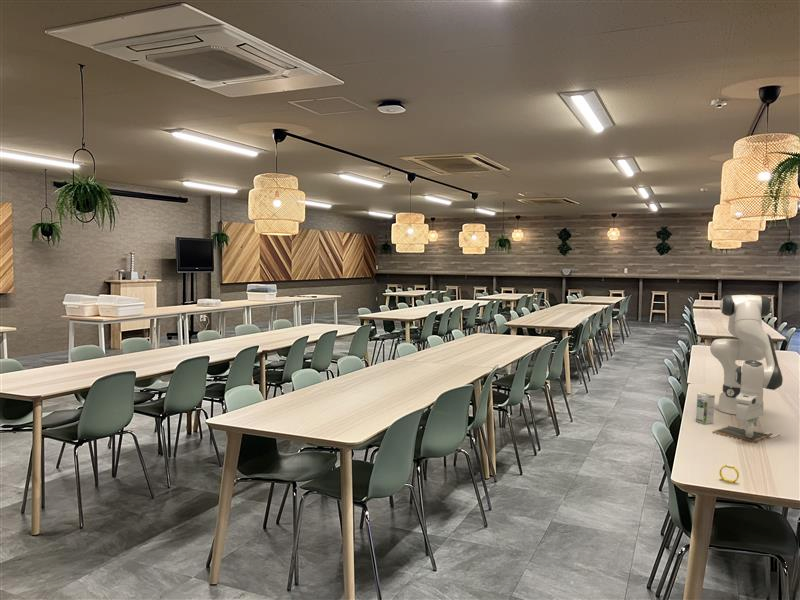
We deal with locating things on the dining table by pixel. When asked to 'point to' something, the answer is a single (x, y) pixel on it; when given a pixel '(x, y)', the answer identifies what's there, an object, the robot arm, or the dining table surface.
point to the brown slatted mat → (740, 434)
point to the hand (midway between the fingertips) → (749, 427)
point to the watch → (729, 467)
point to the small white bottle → (750, 428)
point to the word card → (771, 434)
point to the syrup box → (705, 408)
